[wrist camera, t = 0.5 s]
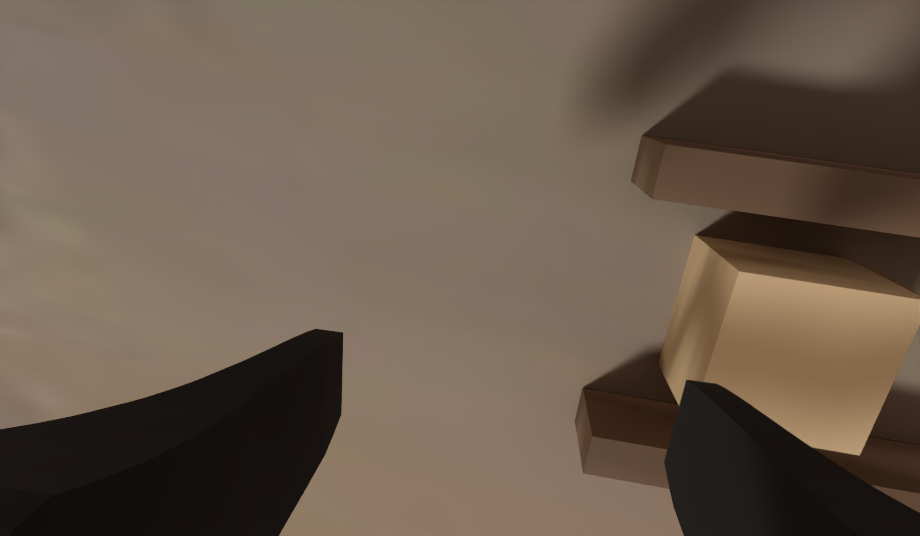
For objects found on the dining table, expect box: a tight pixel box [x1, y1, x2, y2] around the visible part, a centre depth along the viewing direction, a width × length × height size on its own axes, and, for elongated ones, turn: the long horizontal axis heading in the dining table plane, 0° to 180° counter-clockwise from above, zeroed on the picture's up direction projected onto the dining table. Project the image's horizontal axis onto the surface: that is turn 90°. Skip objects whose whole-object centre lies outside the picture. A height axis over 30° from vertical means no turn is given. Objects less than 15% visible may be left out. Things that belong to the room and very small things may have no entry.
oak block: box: [658, 235, 920, 456], centre depth 17 cm, size 5×5×4 cm
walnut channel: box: [575, 135, 920, 513], centre depth 17 cm, size 11×14×3 cm
